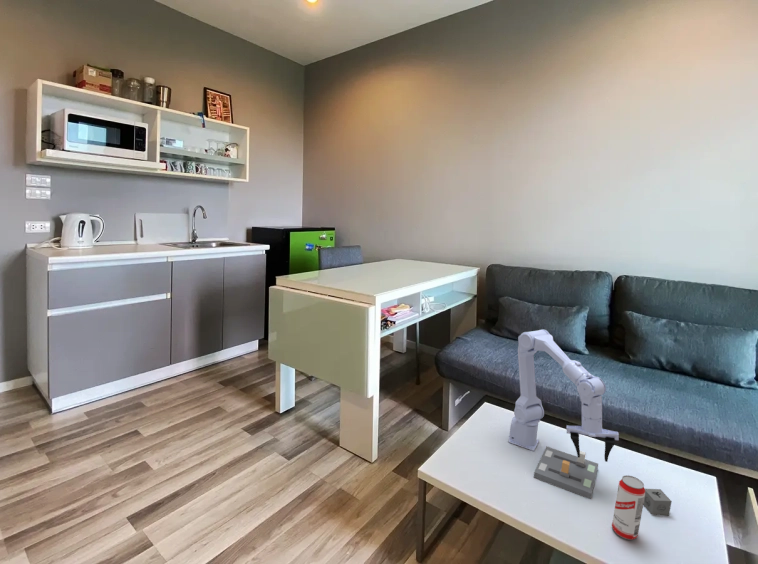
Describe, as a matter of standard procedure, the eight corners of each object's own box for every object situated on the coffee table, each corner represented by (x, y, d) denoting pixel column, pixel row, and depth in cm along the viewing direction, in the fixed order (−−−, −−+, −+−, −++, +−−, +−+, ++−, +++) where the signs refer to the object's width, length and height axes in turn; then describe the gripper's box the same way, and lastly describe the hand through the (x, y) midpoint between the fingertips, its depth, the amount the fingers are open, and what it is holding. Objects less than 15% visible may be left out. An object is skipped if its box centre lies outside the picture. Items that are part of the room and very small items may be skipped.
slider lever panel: (533, 477, 134) (534, 471, 134) (545, 451, 149) (546, 445, 149) (590, 499, 125) (591, 493, 125) (597, 468, 140) (598, 463, 139)
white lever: (575, 464, 138) (577, 452, 137) (576, 461, 140) (578, 449, 139) (584, 467, 137) (586, 455, 136) (585, 464, 139) (587, 452, 138)
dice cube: (657, 503, 124) (660, 489, 123) (668, 516, 119) (671, 501, 118) (641, 502, 124) (643, 488, 123) (651, 515, 119) (654, 500, 118)
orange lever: (559, 474, 133) (560, 462, 132) (560, 470, 135) (562, 459, 134) (568, 477, 131) (570, 465, 130) (569, 474, 133) (571, 462, 132)
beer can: (628, 545, 108) (637, 492, 105) (606, 528, 114) (614, 477, 111) (642, 536, 111) (651, 485, 108) (620, 520, 117) (628, 471, 114)
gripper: (566, 417, 128) (566, 459, 128) (619, 424, 121) (619, 468, 122) (566, 409, 134) (567, 449, 135) (617, 415, 128) (617, 457, 128)
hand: (592, 458), depth 129 cm, fingers open, 7 cm apart
